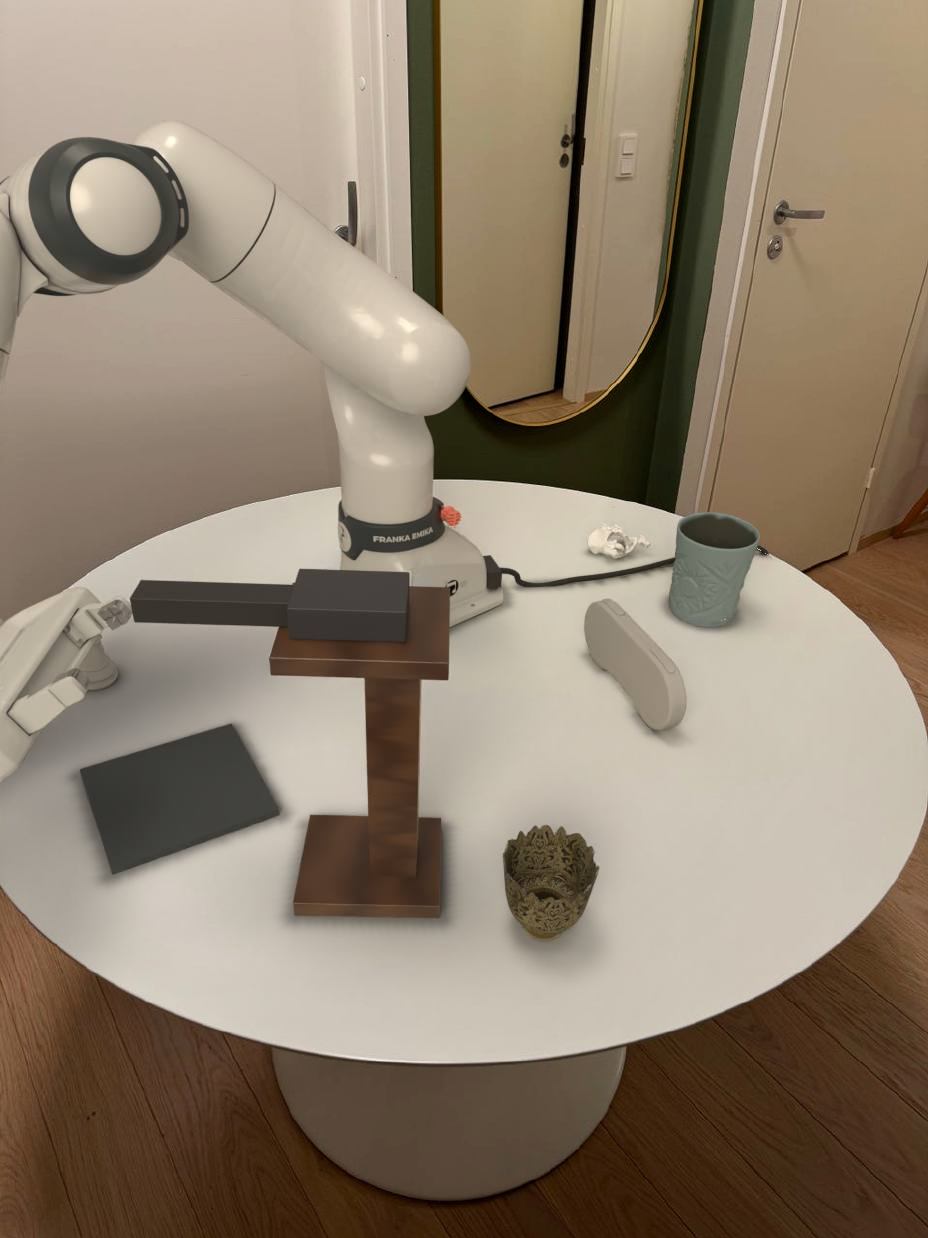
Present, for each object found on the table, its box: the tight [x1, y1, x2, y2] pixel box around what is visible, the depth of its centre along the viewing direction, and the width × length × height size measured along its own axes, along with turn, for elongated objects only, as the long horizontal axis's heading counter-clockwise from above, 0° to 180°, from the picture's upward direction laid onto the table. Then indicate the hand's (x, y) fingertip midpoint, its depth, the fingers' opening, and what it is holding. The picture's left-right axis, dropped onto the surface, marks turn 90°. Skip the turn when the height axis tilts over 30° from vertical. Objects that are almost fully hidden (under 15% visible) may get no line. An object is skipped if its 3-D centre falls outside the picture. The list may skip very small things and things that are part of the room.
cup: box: [502, 824, 600, 941], centre depth 70 cm, size 8×7×8 cm
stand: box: [268, 582, 451, 919], centre depth 69 cm, size 12×10×26 cm
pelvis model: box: [586, 522, 651, 560], centre depth 127 cm, size 8×4×7 cm
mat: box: [79, 722, 280, 875], centre depth 83 cm, size 15×14×1 cm
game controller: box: [583, 598, 687, 731], centre depth 98 cm, size 20×2×8 cm, turn 20°
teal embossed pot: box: [667, 511, 761, 628], centre depth 112 cm, size 10×10×12 cm
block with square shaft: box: [129, 568, 410, 642], centre depth 61 cm, size 19×6×2 cm, turn 90°
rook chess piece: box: [79, 633, 119, 691], centre depth 95 cm, size 4×4×8 cm
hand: (105, 642), depth 63 cm, fingers open, 8 cm apart
